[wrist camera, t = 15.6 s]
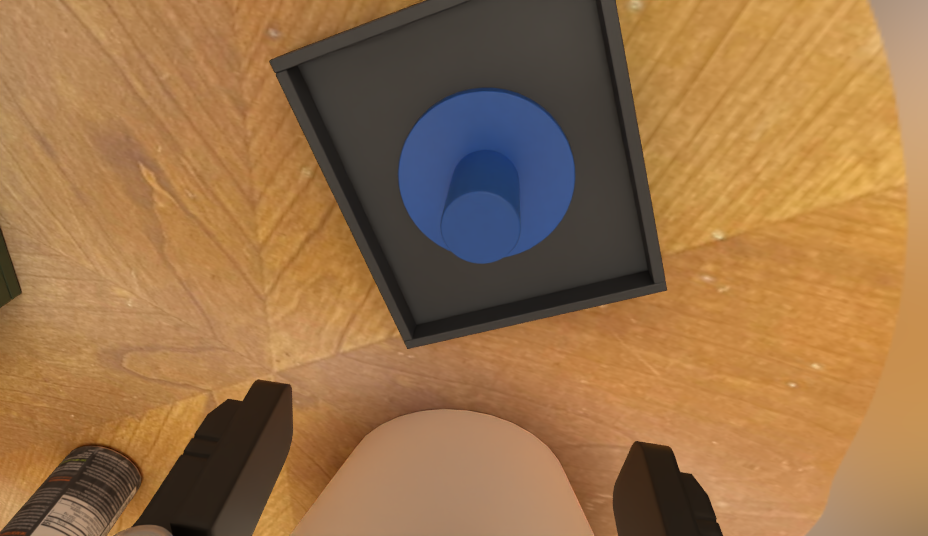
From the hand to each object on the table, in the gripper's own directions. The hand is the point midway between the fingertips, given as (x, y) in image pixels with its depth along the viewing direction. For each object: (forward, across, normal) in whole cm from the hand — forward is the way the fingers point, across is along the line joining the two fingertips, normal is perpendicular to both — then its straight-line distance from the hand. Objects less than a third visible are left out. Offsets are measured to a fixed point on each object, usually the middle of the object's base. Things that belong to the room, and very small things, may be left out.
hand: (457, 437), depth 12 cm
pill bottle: (+18, +26, +30) cm, 44 cm away
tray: (+18, 0, 0) cm, 18 cm away
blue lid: (+18, 0, 0) cm, 18 cm away
